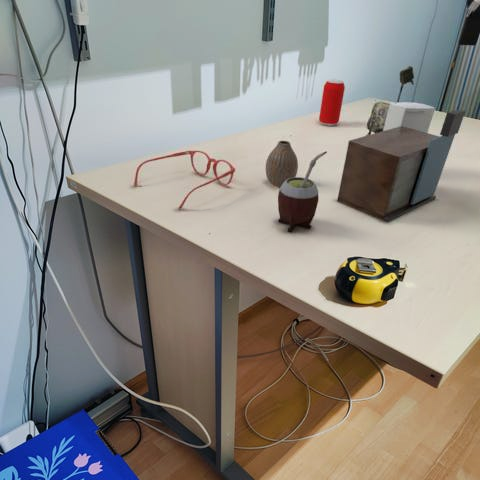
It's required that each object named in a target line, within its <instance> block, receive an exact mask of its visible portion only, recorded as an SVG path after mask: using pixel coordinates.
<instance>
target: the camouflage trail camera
mask: <svg viewBox="0 0 480 480" xmlns="http://www.w3.org/2000/svg"><path fill="white" fill-rule="evenodd" d="M414 79H415V73H414V67H413V66H411V65H409V66H407V67H404V68H403V69H401V70H400V71H399V82H400V84H401V85H400V88H399V93H398V97H397V100H396V103H397V102H400V99H401V95H402V92H403V88H404V86H405V85H407V84H408V83H409V84H410V83H411V85H412V86H413V85H414V84H415V83H414ZM374 101H375V103H374V104H373V106H372V110H371V112H370V116H369V118H368V120H367V122H366V128H367V130H368V133H367V134H366V135H365V136H367V135H371V134H372V133H373V134H375V133H378V132H382V131H383V129H384V125H385V121H386V117H387V113H388V109H389V105H390V102H385V101H377V99H376V100H375V99H374ZM376 101H377V102H376Z"/></svg>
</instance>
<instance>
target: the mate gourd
mask: <svg viewBox="0 0 480 480" xmlns="http://www.w3.org/2000/svg"><path fill="white" fill-rule="evenodd" d="M327 153H328V151H327V150H325V151H323V152H321V153H319V154H317V155H316V156H315V157H313V158H312V159H311V161H310V163H309V167H308V168H307V172H306V174H305V177H300V176H296V177H293V178H289V179H287V180H286V181H285V182H284V183H283V184H282V186H281V187H279V191H278V194H277V209H278V215H279V218H278V219H277V222H278V223H279V224H284V225H287V226H288V225H289V227H288V228H287V232H288V233H293V232H294V230H295V228H301V229H306V230H311V229H312V225H311V224H312V222H313V220H314V217H315V215H316V213H317V212H316V211H317V208H318V204H319V190H318V187H317V184H316V183H315V182H314V181H313V180H312V179H309V177H310V175H311V173H312V170H313V168H314V167H315V165H316V164H317V161H318V160H319V159H320V158H322V157H323V156H325V155H326V154H327Z"/></svg>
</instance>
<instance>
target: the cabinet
mask: <svg viewBox="0 0 480 480" xmlns="http://www.w3.org/2000/svg"><path fill="white" fill-rule="evenodd" d="M366 135H367V134H366ZM366 135H364V136H361V137H358V138H354V139H350V140H348V143H347V147H346V148H347V149H346V153H345V159H344V164H343V169H342V174H341V178H340V179H341V180H340V184H339V190H338V194H337V198H336V201H337V202H338V203H340V204H343V205H345V206H347V207H350V208H352V209H354V210H356V211H359V212H361V213H364V214H366V215H368V216H370V217H372V218H375V219H377V220H380V221H382V222H385V223H386V224H388V223H389V222H392V221H394V220H396V219H398V218H400V217H402V216H404V215H407V214H409V213H410V212H412V211H414V210H416V209H418V208H421V207H422V206H424V205H427V204H429V203H431V202H434V201H435V200H436V198H437V195H435V194H434V195H432V196H430V197H428V198H426V199H424V200H421V201H419V202H417V203H415V204H413V205H412V204H410V203H411V200H412V197H413V194H414V191H415V188H416V184H417V181H418V178H419V175H420V172H421V169H422V165H423V162H424V159H425V156H426V153H427V150H428V146H429V143H430V140H431V139H434V138H437V137H440V136H441V135H435V134H432V133H429V132H428V133H425V132H421V131H418V130H414V129H411V128H407V127H403V126H400V127H396V128H392V129H389V130H385V131H382V132H378V133H371V134H370V135H367V136H366Z"/></svg>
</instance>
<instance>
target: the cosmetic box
mask: <svg viewBox="0 0 480 480" xmlns="http://www.w3.org/2000/svg"><path fill="white" fill-rule="evenodd" d="M389 104H390V105H389V109H388V113H387V117H386V121H385V125H384V129H383V131H385V130H389V129H392V128H396V127H400V126H403V127H407V128H411V129H414V130H418V131H421V132H425V133H429V129H430V126H431V123H432V120H433V117H434V114H435V110H436V107H434V106H432V105H428V104H424V103H421V102H408V101H407V102H406V101H403V102H402V101H401V102H400V101H399V102H397V101H396V102H389Z"/></svg>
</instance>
